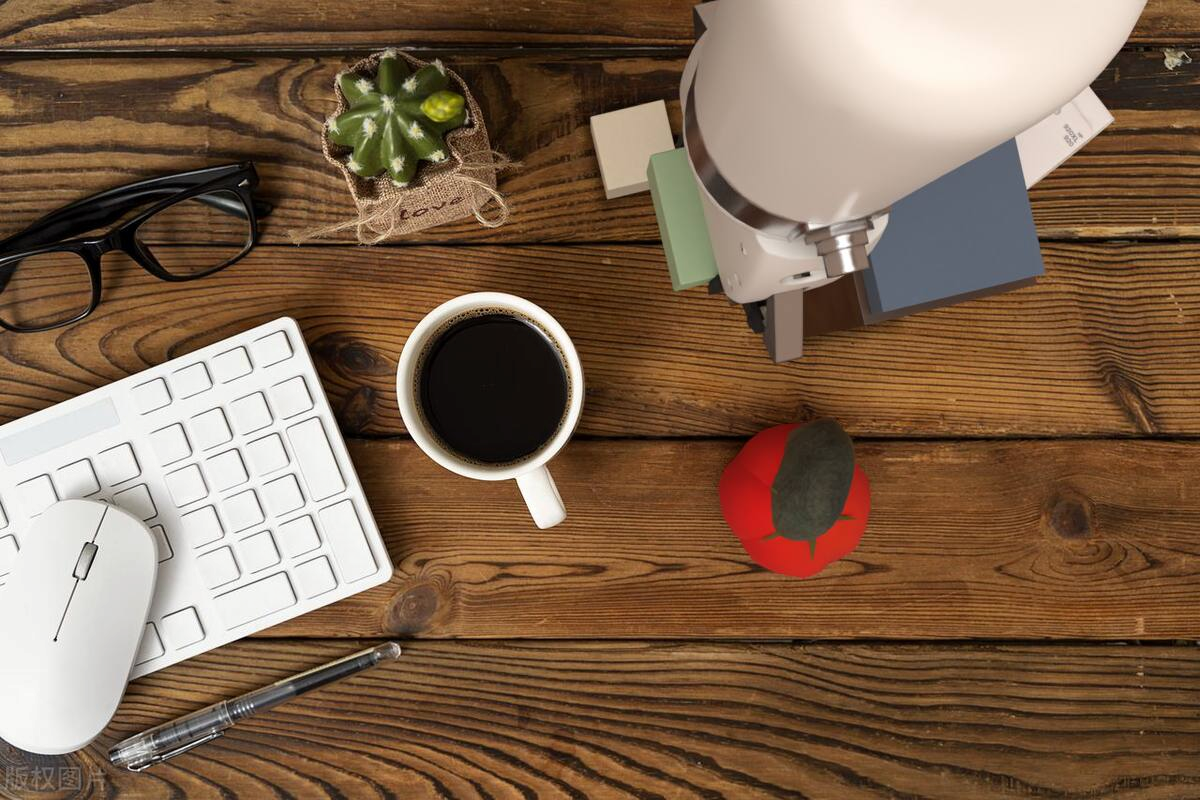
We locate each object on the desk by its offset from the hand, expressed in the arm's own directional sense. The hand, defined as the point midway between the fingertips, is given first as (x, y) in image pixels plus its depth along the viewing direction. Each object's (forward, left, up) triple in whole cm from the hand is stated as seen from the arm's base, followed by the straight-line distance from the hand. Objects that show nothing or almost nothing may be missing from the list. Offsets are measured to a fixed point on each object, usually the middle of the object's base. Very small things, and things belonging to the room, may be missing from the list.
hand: (721, 214), depth 44 cm
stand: (+2, +12, -27) cm, 30 cm away
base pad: (+2, +12, -3) cm, 13 cm away
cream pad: (-11, -1, -27) cm, 29 cm away
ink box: (-5, +26, -28) cm, 38 cm away
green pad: (0, 0, -1) cm, 1 cm away
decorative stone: (+17, +6, -28) cm, 33 cm away
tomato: (+19, +5, -27) cm, 34 cm away
